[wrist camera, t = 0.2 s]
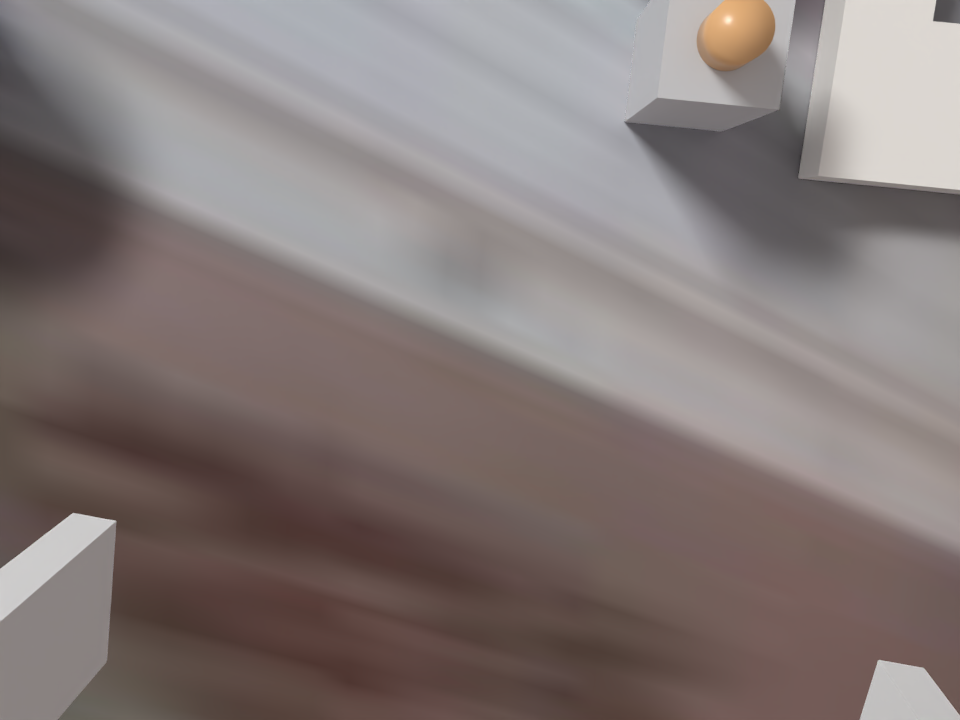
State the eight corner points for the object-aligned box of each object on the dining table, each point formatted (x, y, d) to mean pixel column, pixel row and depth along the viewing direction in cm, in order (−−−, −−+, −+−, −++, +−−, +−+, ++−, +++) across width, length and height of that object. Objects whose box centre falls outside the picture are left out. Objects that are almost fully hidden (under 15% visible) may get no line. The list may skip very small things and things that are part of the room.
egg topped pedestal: (636, 19, 39) (685, -50, 29) (736, 29, 39) (819, -36, 29) (624, 122, 40) (668, 89, 30) (722, 131, 40) (798, 102, 30)
